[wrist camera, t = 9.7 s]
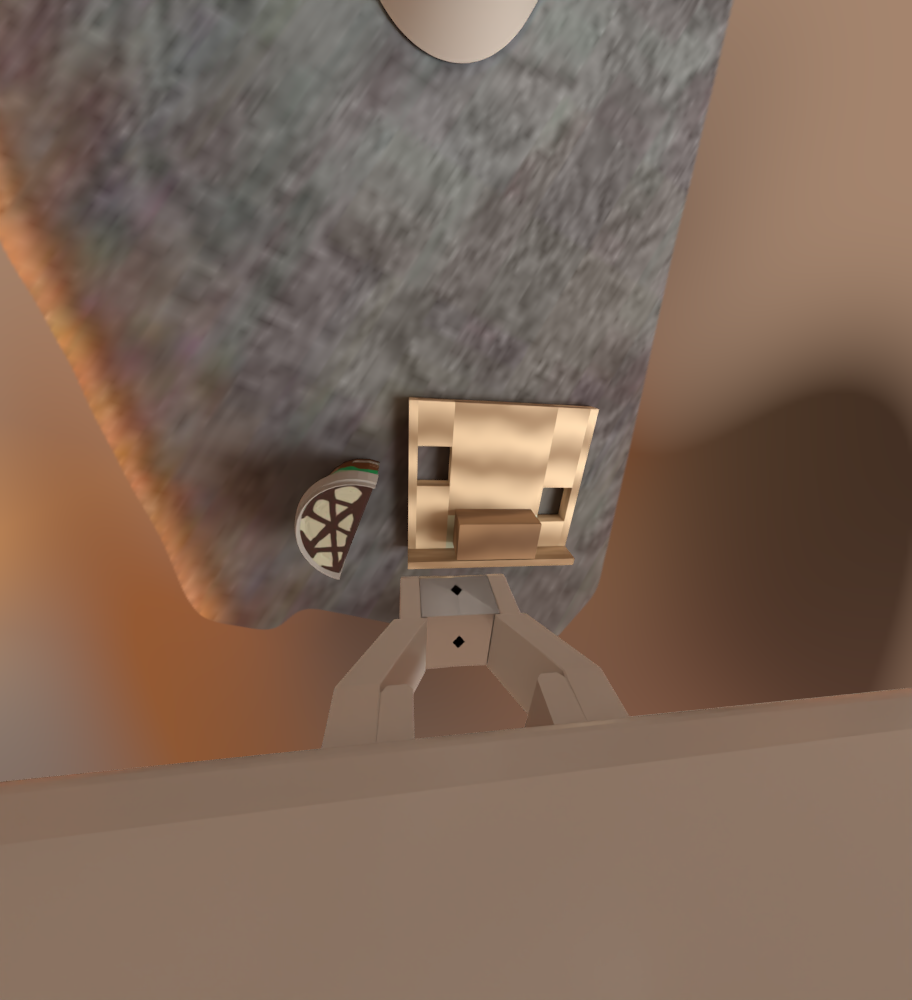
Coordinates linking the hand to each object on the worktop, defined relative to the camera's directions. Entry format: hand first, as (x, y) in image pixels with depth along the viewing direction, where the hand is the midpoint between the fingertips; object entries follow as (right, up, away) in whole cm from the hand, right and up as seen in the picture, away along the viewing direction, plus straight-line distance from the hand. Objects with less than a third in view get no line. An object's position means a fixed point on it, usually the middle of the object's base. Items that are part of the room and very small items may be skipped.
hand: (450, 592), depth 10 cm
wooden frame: (+5, +5, +33) cm, 34 cm away
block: (+5, -1, +34) cm, 34 cm away
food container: (-14, +5, +31) cm, 34 cm away
